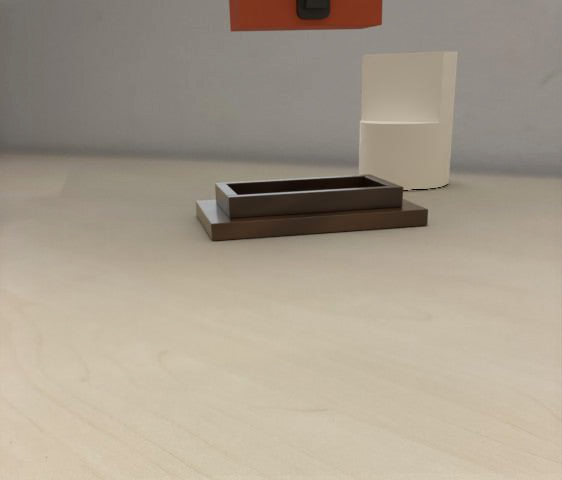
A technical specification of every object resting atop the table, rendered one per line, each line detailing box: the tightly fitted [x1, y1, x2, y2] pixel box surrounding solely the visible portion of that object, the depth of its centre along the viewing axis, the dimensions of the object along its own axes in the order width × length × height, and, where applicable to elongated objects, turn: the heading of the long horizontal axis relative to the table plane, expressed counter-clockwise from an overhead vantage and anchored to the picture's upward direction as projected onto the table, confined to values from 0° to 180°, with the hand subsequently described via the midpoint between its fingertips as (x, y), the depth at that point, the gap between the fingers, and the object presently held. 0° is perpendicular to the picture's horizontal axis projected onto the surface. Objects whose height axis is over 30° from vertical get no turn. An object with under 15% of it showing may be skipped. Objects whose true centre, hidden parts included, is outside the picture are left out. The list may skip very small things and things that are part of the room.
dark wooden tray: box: [195, 174, 429, 242], centre depth 54 cm, size 16×10×3 cm, turn 102°
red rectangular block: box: [228, 0, 383, 32], centre depth 49 cm, size 10×4×3 cm, turn 103°
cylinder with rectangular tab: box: [358, 50, 459, 190], centre depth 69 cm, size 9×9×12 cm
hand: (304, 20), depth 50 cm, fingers closed on red rectangular block, 4 cm apart
